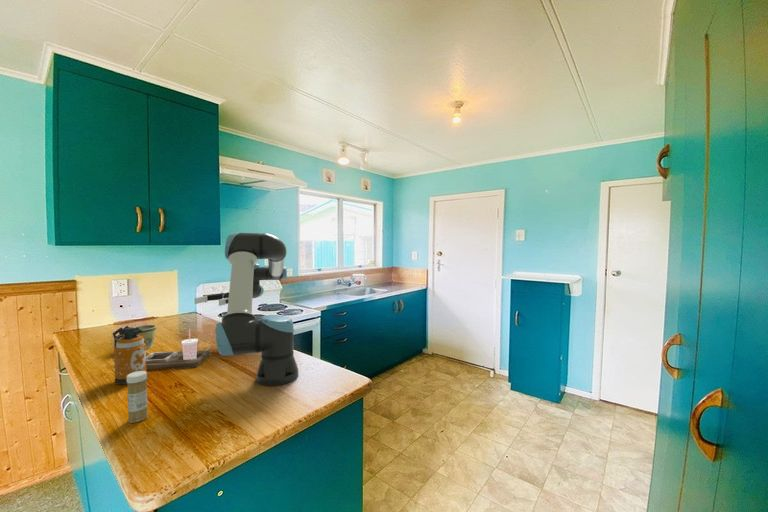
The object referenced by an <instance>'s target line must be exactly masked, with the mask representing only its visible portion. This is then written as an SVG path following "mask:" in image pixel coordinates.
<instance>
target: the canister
mask: <svg viewBox="0 0 768 512" xmlns="http://www.w3.org/2000/svg"><path fill="white" fill-rule="evenodd" d="M135 327H136V328H133V327H129V326H128V325H126V326H125V327H119V328H118V329H117V330H116V331H114V332H112V336H113V338H114V340H113V341H114V343H113V344H114V350H113V351H114V355H113V356H114V366H113V368H114V384H118V385H128V384H127V375H128V374H130V373H133V372H137V371H146V372H147V370H146V356H147V349H146V344H145V343H144V338H143V336H141V335H136V334H138V333H139V332H141V329H139V328H138V327H137V326H135ZM118 333H119V334H118Z"/></svg>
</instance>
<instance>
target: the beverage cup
mask: <svg viewBox="0 0 768 512" xmlns="http://www.w3.org/2000/svg"><path fill="white" fill-rule="evenodd" d="M198 342H199V339H198V338H191V328H189V329H188V338H187V339H184V340H181V346H182V351H183V360H189V359H197V358H196V357H197V351H198Z"/></svg>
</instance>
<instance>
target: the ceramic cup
mask: <svg viewBox="0 0 768 512" xmlns="http://www.w3.org/2000/svg"><path fill="white" fill-rule="evenodd" d="M136 327H138V328H139V329H141V332H139V333H138V334H136V335H141V336H143V338H144V343H145V344H146V350H148V349H151V348H152V347H153V345H154V340H155V336H156V331H157V325H156V324H143V325H138V326H133V327H132V328H136Z"/></svg>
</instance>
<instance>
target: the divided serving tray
mask: <svg viewBox="0 0 768 512" xmlns="http://www.w3.org/2000/svg"><path fill="white" fill-rule="evenodd" d="M211 352H212V351H211V349H207V350H206V349H205V350H203V349H202V350H197V357H196V359H189V360H184V359H183V350H181V351H178V350H177V351H176V350H175V351H154V352H151V353H150V354H147V355H146V371H153V369H157V370H169V369H171V370H173V369H172V368H174V369H189V368H188V367H192V368H197V367H198V366H199V365H201V364H202V363H203V362H204V361H205V360H206V359H208V357H209V356H211V354H212V353H211ZM182 359H183V360H182ZM203 360H204V361H203ZM202 361H203V362H202ZM201 362H202V363H201ZM200 363H201V364H200Z"/></svg>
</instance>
